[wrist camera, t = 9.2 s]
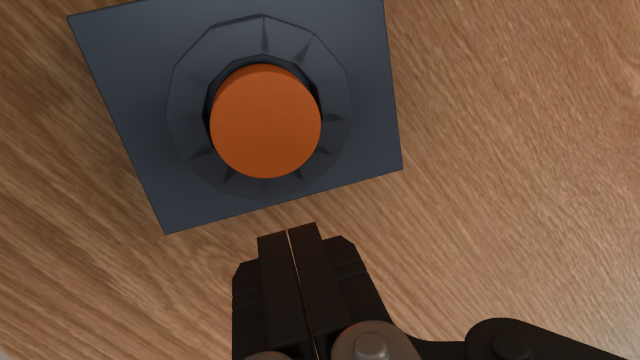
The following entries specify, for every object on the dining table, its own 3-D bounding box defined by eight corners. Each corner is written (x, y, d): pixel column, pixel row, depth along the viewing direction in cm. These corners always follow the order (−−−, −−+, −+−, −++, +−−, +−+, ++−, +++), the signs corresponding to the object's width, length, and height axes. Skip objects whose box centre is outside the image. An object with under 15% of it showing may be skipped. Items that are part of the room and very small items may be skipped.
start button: (229, 171, 15) (229, 190, 14) (197, 77, 14) (193, 87, 12) (320, 146, 15) (330, 163, 14) (299, 52, 14) (308, 59, 12)
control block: (171, 211, 19) (157, 260, 16) (85, 14, 15) (40, 18, 12) (387, 153, 20) (420, 186, 17) (359, -47, 16) (395, -61, 13)
